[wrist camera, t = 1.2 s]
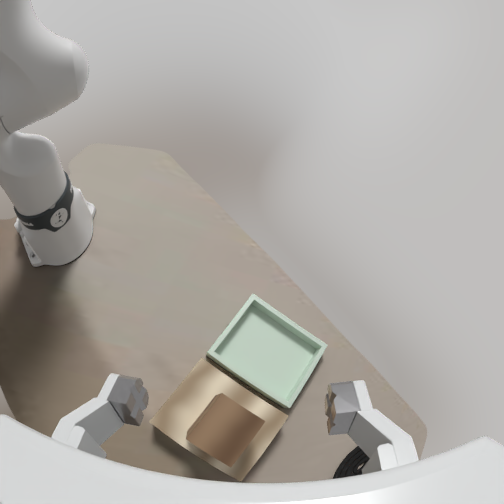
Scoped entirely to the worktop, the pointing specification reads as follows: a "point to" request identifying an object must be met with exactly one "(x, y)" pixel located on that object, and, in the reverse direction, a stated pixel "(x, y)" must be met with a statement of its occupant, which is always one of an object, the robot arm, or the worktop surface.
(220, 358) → the tray
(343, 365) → the worktop surface
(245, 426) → the walnut block
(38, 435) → the robot arm
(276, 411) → the birch stand
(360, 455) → the hairbrush
